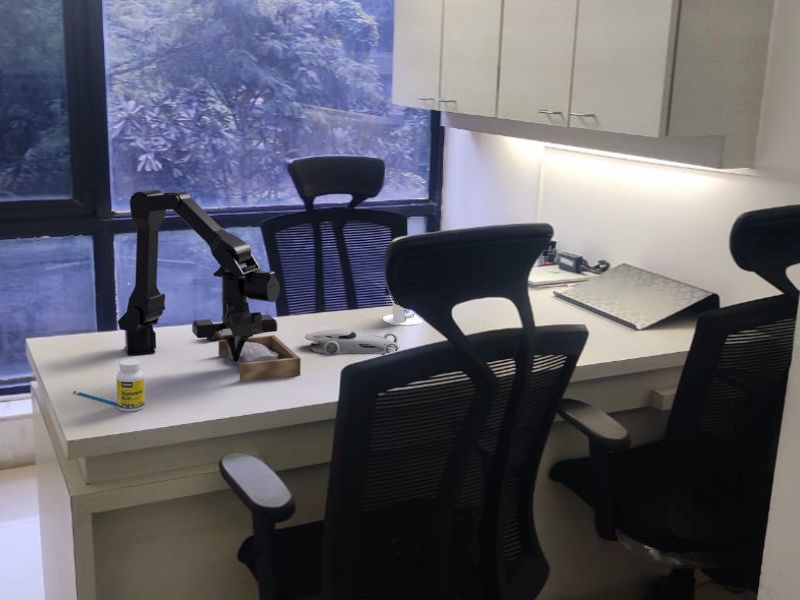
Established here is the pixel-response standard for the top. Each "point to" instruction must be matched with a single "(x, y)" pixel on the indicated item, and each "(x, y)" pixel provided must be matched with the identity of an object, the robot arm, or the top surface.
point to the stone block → (255, 353)
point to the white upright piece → (401, 317)
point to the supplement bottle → (130, 386)
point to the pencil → (95, 398)
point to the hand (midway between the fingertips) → (235, 361)
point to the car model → (351, 342)
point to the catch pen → (270, 368)
